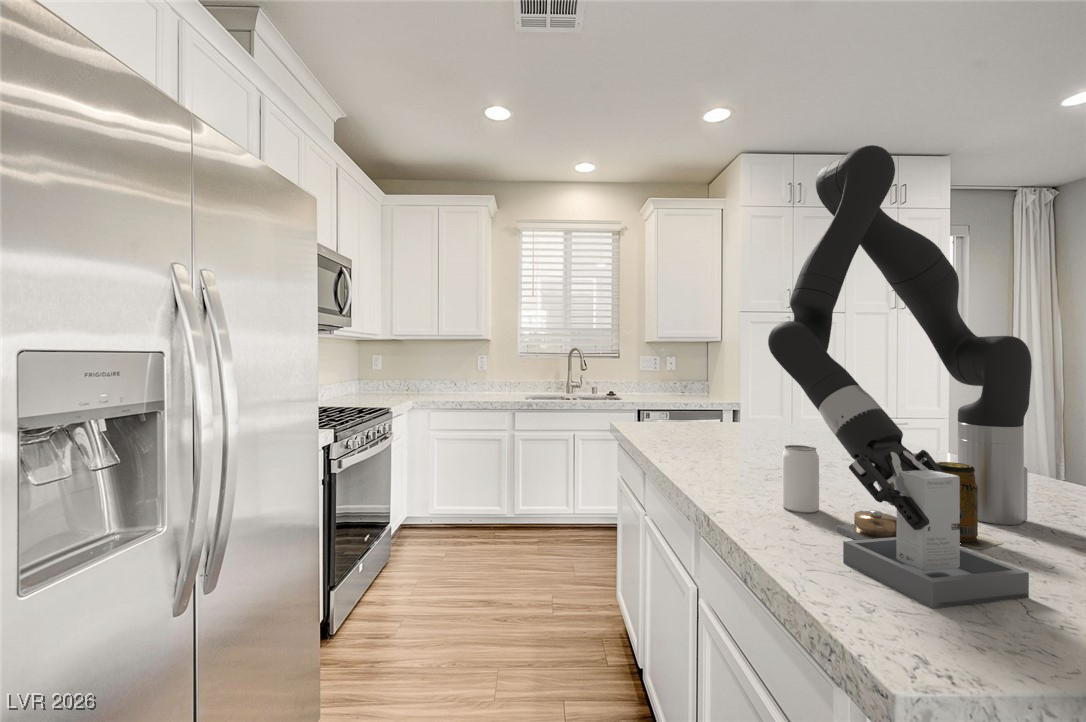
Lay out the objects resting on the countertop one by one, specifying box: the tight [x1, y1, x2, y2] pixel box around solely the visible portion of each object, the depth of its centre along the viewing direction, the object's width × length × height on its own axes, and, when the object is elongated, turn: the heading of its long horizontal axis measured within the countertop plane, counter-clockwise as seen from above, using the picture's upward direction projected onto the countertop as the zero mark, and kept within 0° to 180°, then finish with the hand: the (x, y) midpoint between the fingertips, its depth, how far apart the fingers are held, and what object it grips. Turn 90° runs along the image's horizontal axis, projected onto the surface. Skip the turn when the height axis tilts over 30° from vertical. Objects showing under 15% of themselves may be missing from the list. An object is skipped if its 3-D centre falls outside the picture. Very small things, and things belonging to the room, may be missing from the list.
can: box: [781, 444, 820, 514], centre depth 102 cm, size 6×6×12 cm
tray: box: [842, 537, 1030, 609], centre depth 70 cm, size 14×14×3 cm
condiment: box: [936, 461, 1003, 550], centre depth 85 cm, size 7×8×12 cm
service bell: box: [835, 509, 897, 540], centre depth 86 cm, size 8×8×4 cm
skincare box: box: [896, 470, 961, 571], centre depth 70 cm, size 6×4×12 cm
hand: (940, 523), depth 68 cm, fingers closed on skincare box, 6 cm apart
